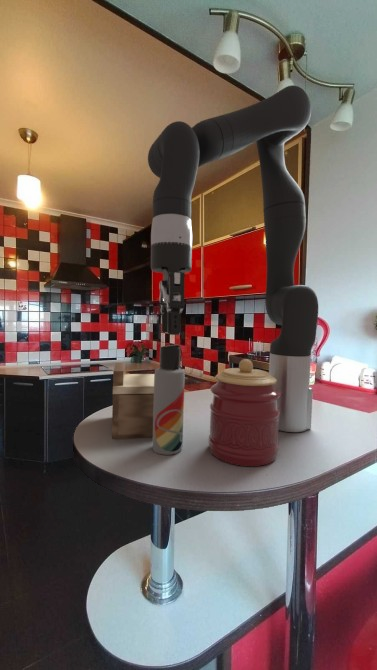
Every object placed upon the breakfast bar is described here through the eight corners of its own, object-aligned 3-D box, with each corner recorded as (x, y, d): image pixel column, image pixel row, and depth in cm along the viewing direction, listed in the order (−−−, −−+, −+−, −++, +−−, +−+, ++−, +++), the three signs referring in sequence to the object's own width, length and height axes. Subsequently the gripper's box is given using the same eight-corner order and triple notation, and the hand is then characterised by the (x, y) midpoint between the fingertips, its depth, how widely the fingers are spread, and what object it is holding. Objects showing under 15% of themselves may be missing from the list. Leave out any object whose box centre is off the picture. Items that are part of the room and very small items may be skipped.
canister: (283, 472, 50) (288, 366, 49) (204, 463, 52) (208, 362, 51) (273, 441, 63) (277, 356, 62) (211, 435, 65) (214, 353, 64)
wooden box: (162, 415, 77) (163, 380, 77) (170, 436, 63) (171, 394, 63) (114, 416, 75) (115, 381, 74) (111, 439, 61) (112, 395, 61)
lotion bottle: (178, 457, 54) (181, 346, 53) (148, 453, 55) (150, 344, 54) (185, 444, 59) (188, 343, 58) (158, 441, 61) (160, 342, 60)
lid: (163, 379, 77) (164, 362, 76) (171, 393, 63) (172, 371, 63) (115, 380, 74) (115, 362, 74) (112, 394, 61) (113, 372, 60)
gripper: (200, 236, 49) (199, 335, 50) (184, 254, 63) (183, 332, 64) (154, 233, 47) (153, 335, 48) (148, 252, 61) (147, 331, 62)
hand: (170, 333), depth 56 cm, fingers open, 8 cm apart
